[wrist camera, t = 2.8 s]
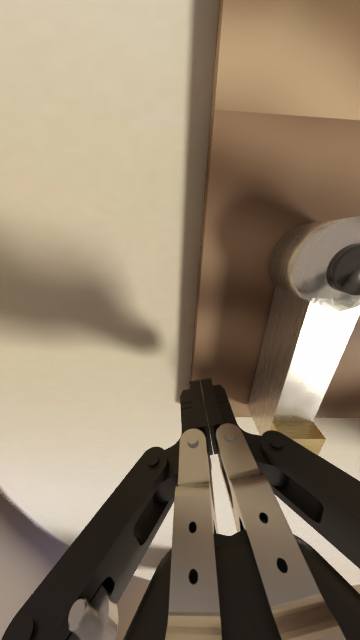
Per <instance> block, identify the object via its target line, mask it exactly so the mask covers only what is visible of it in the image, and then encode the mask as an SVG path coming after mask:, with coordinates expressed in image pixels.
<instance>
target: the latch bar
mask: <svg viewBox="0 0 360 640" xmlns="http://www.w3.org/2000/svg"><path fill="white" fill-rule="evenodd" d="M269 274H270V278H271V280H272V282H273V284H274V285H275V286H276V288H275V292H274V297H273V301H272V305H271V309H270V314H269V318H268V322H267V326H266V330H265V335H264V339H263V343H262V347H261V352H260V356H259V360H258V364H257V369H256V373H255V377H254V381H253V386H252V390H251V394H250V398H249V403H248V409H249V411H250V413H251V416H252V418H253V420H254V422H255V425H256V427H257V429H258V431H259V434H260V436H262V434H263V433H264V432H266V431H269V430H274V431H278V432H281V433H282V434H284V435H286V436H287V437H289V438H291V439H292V440H294V441H295V442H297V443H299V444H300V445H302V446H303V447H305V448H307V449H308V450H310V451H312V452H313V453H315V454H316V455H318V454H319V452H320V450H321V448H322V446H323V444H324V442H325V440H326V439H325V437H324V436H323V435H322V433H321V432H320V431H319V429H318V428H317V427H316V426H315V424H314V423H313V420H314V418H315V416H316V413H317V411H318V409H319V406H320V404H321V402H322V399H323V397H324V395H325V392H326V390H327V388H328V385H329V383H330V381H331V378H332V376H333V374H334V371H335V369H336V367H337V364H338V362H339V360H340V358H341V355H342V353H343V351H344V348H345V346H346V344H347V341H348V339H349V337H350V334H351V332H352V330H353V327H354V325H355V323H356V320H357V318H358V316H359V313H360V216H358V217H350V218H343V219H336V220H329V221H322V222H315V223H308V224H303V225H300V226H297V227H295V228H293V229H292V230H290V231H289V232H287V233H286V234H285V235H284V236H283V237H282V238H281V239H280V240H279V241H278V243H277V244H276V246H275V248H274V250H273V252H272V254H271V257H270V262H269Z"/></svg>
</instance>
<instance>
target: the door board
mask: <svg viewBox="0 0 360 640" xmlns="http://www.w3.org/2000/svg"><path fill="white" fill-rule="evenodd" d="M358 216H360V0H220V5H219V18H218V31H217V44H216V57H215V70H214V83H213V96H212V109H211V122H210V135H209V147H208V160H207V173H206V186H205V199H204V212H203V225H202V238H201V251H200V264H199V277H198V290H197V303H196V316H195V329H194V342H193V354H192V367H191V380H190V381H194V380H200V379H206V378H211V381H212V384H213V385H219V384H220V385H221V386H222V387H223V388H224V389H225V391H226V394H227V397H228V400H229V403H230V405H231V408H232V411H233V414H234V417H252V416H251V413H250V411H249V409H248V403H249V398H250V394H251V390H252V386H253V381H254V377H255V373H256V369H257V364H258V360H259V356H260V352H261V347H262V343H263V339H264V335H265V330H266V326H267V322H268V318H269V314H270V309H271V305H272V301H273V297H274V292H275V288H276V286H275V285H274V284H273V282H272V280H271V278H270V274H269V262H270V257H271V254H272V252H273V250H274V248H275V246H276V244H277V243H278V241H279V240H280V239H281V238H282V237H283V236H284V235H285V234H286V233H287V232H289V231H290V230H292V229H293V228H295V227H297V226H300V225H303V224H308V223H315V222H322V221H329V220H336V219H343V218H350V217H358ZM200 385H201V380H200ZM201 390H202V387H201ZM202 395H203V393H202ZM203 400H204V399H203ZM315 417H320V418H360V313H359V316H358V318H357V320H356V323H355V325H354V327H353V330H352V332H351V334H350V337H349V339H348V341H347V344H346V346H345V348H344V351H343V353H342V355H341V358H340V360H339V362H338V364H337V367H336V369H335V371H334V374H333V376H332V378H331V381H330V383H329V385H328V388H327V390H326V392H325V395H324V397H323V399H322V402H321V404H320V406H319V409H318V411H317V413H316V416H315Z"/></svg>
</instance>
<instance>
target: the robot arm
mask: <svg viewBox="0 0 360 640" xmlns="http://www.w3.org/2000/svg"><path fill="white" fill-rule="evenodd" d="M200 380H201V385H200ZM200 380H194V381H189V383H190V389H188V390H183V391H182V394H181V396H180V401H181V422H182V434H181V437H180V439H179V441H178V442H177V443H176V444H175V445H173V446H172V447H170V448H168V449H166V450H164V449H162V448H160V447H152V448H150V449H148V450H147V451H146V452H145V453H144V454H143V455H142V457H141V458H140V459H139V460H138V462H137V463H136V464H135V465H134V467H133V468H132V469H131V470H130V472H129V473H128V474H127V475H126V477H125V478H124V479H123V480H122V482H121V483H120V484H119V485H118V487H117V488H116V489H115V491H114V492H113V493H112V494H111V496H110V497H109V498H108V499H107V501H106V502H105V503H104V504H103V506H102V507H101V508H100V509H99V511H98V512H97V513H96V514H95V516H94V517H93V518H92V520H91V521H90V522H89V523H88V525H87V526H86V527H85V528H84V530H83V531H82V532H81V533H80V535H79V536H78V537H77V538H76V540H75V541H74V542H73V543H72V545H71V546H70V547H69V548H68V550H67V551H66V552H65V554H64V555H63V556H62V557H61V559H60V560H59V561H58V562H57V564H56V565H55V566H54V568H53V569H52V570H51V571H50V572H49V574H48V575H47V576H46V577H45V579H44V580H43V581H42V583H41V584H40V585H39V586H38V588H37V589H36V590H35V591H34V593H33V594H32V595H31V596H30V598H29V599H28V600H27V601H26V603H25V604H24V605H23V606H22V608H21V609H20V610H19V611H18V613H17V614H16V615H15V617H14V618H13V620H12V621H11V623H10V624H9V626H8V628H7V630H6V631H5V634H4V635H3V638H2V640H115V638H116V633H117V627H118V610H117V606H116V605H117V603H118V601H119V599H120V597H121V596H122V594H123V592H124V590H125V588H126V587H127V585H128V583H129V581H130V580H131V578H132V576H133V574H134V572H135V571H136V569H137V567H138V565H139V563H140V562H141V560H142V558H143V556H144V554H145V553H146V551H147V549H148V547H149V545H150V544H151V542H152V540H153V538H154V536H155V535H156V533H157V531H158V529H159V527H160V526H161V524H162V522H163V520H164V519H165V517H166V515H167V513H168V511H169V510H170V508H171V506H172V504H173V502H174V518H173V537H172V549H171V550H170V551H169V552H168V553H167V554H166V555H165V557H164V558H163V559H162V561H161V562H160V564H159V566H158V567H157V569H156V571H155V573H154V575H153V577H152V579H151V581H150V584H149V586H148V588H147V590H146V592H145V594H144V596H143V599H142V601H141V603H140V605H139V607H138V609H137V611H136V614H135V616H134V618H133V620H132V622H131V624H130V626H129V628H128V630H127V633H126V635H125V637H124V639H123V640H360V594H359V593H358V592H357V591H356V590H355V589H354V588H353V587H352V586H351V585H350V584H349V583H348V582H347V581H346V580H345V579H344V578H343V577H342V576H341V575H340V574H339V573H338V572H337V571H336V570H335V569H334V568H333V567H332V566H331V565H330V564H329V563H328V562H327V561H326V560H325V559H324V558H323V557H322V556H321V555H320V554H319V553H318V552H317V551H316V550H315V549H313V548H312V547H311V546H310V545H309V544H307V543H306V542H305V541H303V540H302V539H301V538H299V537H297V536H296V535H294V534H293V533H292V531H291V529H290V527H289V525H288V523H287V520H286V518H285V516H284V514H283V512H282V510H281V508H280V505H279V503H278V501H277V499H276V497H275V495H276V496H277V497H278V498H280V499H281V500H282V501H283V502H284V503H285V504H286V505H288V506H289V507H290V508H291V509H292V510H293V511H294V512H296V513H297V514H298V515H299V516H300V517H301V518H302V519H304V520H305V521H306V522H307V523H308V524H309V525H310V526H312V527H313V528H314V529H315V530H316V531H317V532H318V533H320V534H321V535H322V536H323V537H324V538H325V539H326V540H328V541H329V542H330V543H331V544H332V545H333V546H334V547H336V548H337V549H338V550H339V551H340V552H341V553H342V554H344V555H345V556H346V557H347V558H348V559H349V560H350V561H352V562H353V563H354V564H355V565H356V566H357V567H358V568H360V481H358V480H357V479H355V478H354V477H352V476H350V475H349V474H347V473H345V472H344V471H342V470H341V469H339V468H337V467H336V466H334V465H333V464H331V463H329V462H328V461H326V460H324V459H323V458H321V457H320V456H318V455H316V454H315V453H313V452H312V451H310V450H308V449H307V448H305V447H303V446H302V445H300V444H299V443H297V442H295V441H294V440H292V439H291V438H289V437H287V436H286V435H284V434H282V433H281V432H278V431H274V430H269V431H266V432H264V433H263V434H262V436H259V435H253V434H249V433H247V432H245V431H243V430H242V429H241V428H240V427H239V426H238V424H237V422H236V420H235V417H234V414H233V411H232V408H231V405H230V403H229V400H228V397H227V394H226V391H225V389H224V388H223V387H222V386H221V385H220V384H219V385H213V384H212V381H211V378H206V379H200ZM201 387H202V390H201ZM202 393H203V395H202ZM203 399H204V400H203ZM207 420H208V421H207ZM208 425H209V426H208ZM209 430H210V432H209ZM210 435H211V438H210ZM211 441H212V445H211ZM212 446H213V451H214V454H218V457H219V462H220V468H221V472H222V476H223V479H224V483H225V487H226V490H227V494H228V497H229V501H230V504H231V508H232V512H233V516H234V520H235V525H236V529H237V533H236V534H234V535H232V536H225V535H221V534H218V529H217V522H216V513H215V503H214V493H213V483H212V473H211V468H212V466H211V459H210V455H213V451H212ZM274 494H275V495H274Z"/></svg>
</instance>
